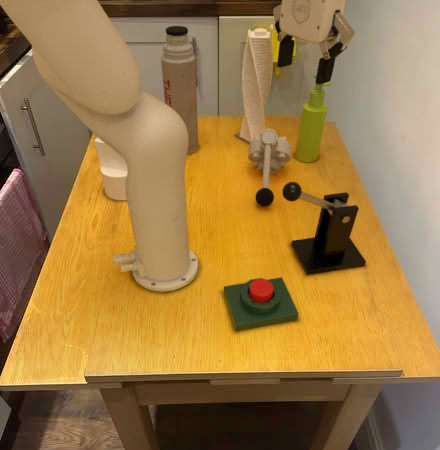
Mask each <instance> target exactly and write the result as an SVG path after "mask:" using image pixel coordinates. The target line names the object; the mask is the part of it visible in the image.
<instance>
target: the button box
mask: <svg viewBox="0 0 440 450" xmlns="http://www.w3.org/2000/svg"><path fill="white" fill-rule="evenodd" d="M257 279H265V280H268V281H269V282H271V283H272V285H273V288H274V289H273V296H272V298H271V299H270V300H269V301H268V302H265V303H259V302H255V301H254V300H252V299H251V297H250V295H249V290H250V284H251V283H252V282H253V281H254V280H257ZM223 296H224V299H225V302H226V305H227V308H228V311H229V314H230V317H231V321H232V323H233V327H234V331H235V332H237V331H242V330H247V329H248V330H249V329H253V328H260V327H265V326H270V325H271V326H272V325H278V324H283V323H287V322H292V321H293V322H294V321H298V318H299V314H300V313H299V311H298V309H297V307H296V305H295V303H294V301H293V298H292V297H291V294H290V292H289V290H288V288H287V286H286V283H285V281H284V279H283V277H282V276H279V277H274V278H269V279H267V278H263V277H258V278H253V279H249V280H248V281H246V282H243V283H242V282H241V283H237V284H236V283H235V284H229V285H225V286H223Z"/></svg>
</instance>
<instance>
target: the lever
mask: <svg viewBox="0 0 440 450" xmlns="http://www.w3.org/2000/svg"><path fill="white" fill-rule="evenodd" d="M281 192H282V193H281V194H282V196H283V198H284V199H285V200H286V201H288V202H296V201H298V200H301V201H304V202H306V203H309V204H312V205H314V206H317V207H320V208H325V209H327V210H328V211H329V213H330V214H331V215H332V212H333V208H338V207H346V206H349V205H348V203H347V204H346V203H344V202H341V201H339V200H337V199H335V200H334V201H333V203H330V202H328V201H325V200H323V199H324V198H320V197H318V196H315V195H313V194H310V193H307V192H305V191H303V190H302V186H301V185H300V184H299V182H297V181H289V182H287V183H285V184H284V185H283V188H282V191H281Z"/></svg>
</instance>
